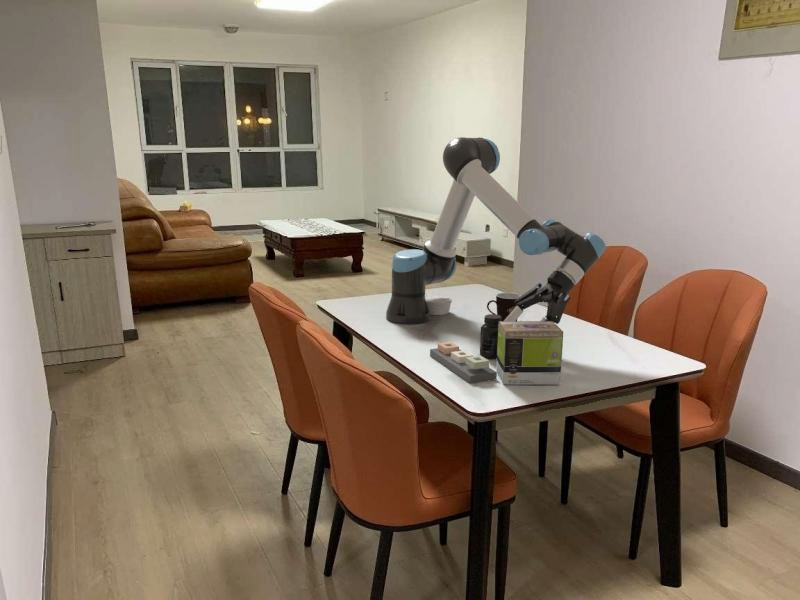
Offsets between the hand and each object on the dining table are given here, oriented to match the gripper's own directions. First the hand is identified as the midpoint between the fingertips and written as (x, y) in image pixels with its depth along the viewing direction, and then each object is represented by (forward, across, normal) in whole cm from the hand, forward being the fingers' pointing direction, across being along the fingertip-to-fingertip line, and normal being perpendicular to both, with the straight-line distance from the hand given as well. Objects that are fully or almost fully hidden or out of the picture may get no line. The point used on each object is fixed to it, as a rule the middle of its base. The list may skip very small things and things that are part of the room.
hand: (518, 331), depth 186 cm
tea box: (+12, -19, +1) cm, 22 cm away
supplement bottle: (+11, 0, +1) cm, 11 cm away
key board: (+20, -5, +10) cm, 23 cm away
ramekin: (+7, +49, -3) cm, 50 cm away
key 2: (+18, -13, +12) cm, 25 cm away
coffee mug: (-4, +28, -14) cm, 32 cm away
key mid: (+18, -5, +12) cm, 22 cm away
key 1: (+18, +3, +12) cm, 22 cm away
